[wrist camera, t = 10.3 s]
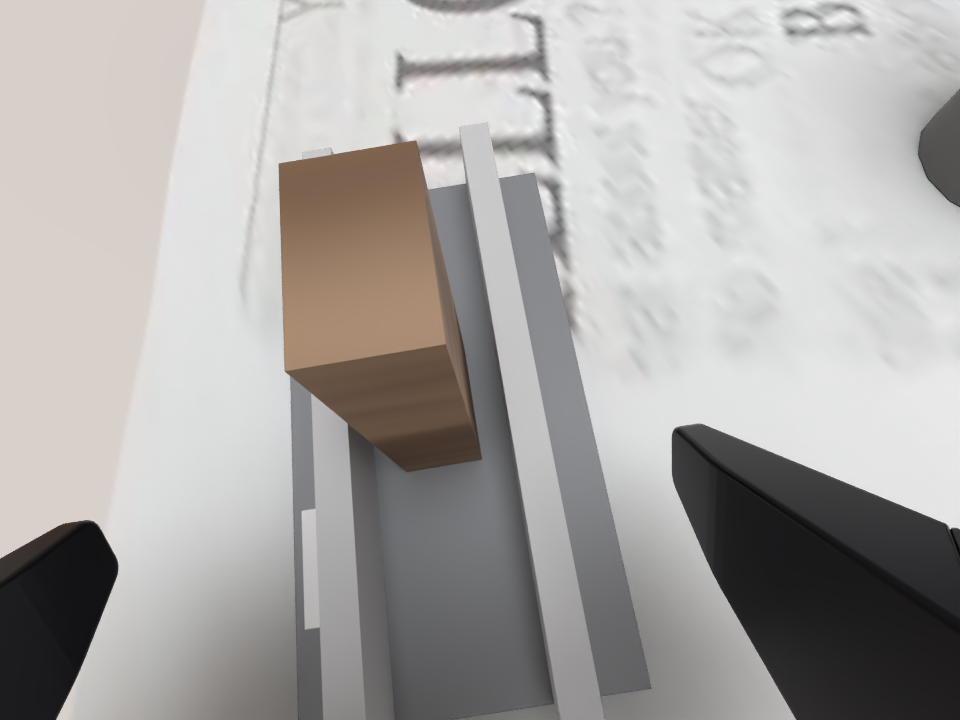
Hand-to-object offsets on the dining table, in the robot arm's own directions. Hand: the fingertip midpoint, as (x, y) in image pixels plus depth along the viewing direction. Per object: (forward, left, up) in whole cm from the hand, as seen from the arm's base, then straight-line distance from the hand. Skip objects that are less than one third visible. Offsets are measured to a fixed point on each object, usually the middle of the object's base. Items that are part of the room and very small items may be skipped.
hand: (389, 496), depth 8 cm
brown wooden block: (+3, +3, -9) cm, 10 cm away
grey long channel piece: (+3, +3, -10) cm, 11 cm away
